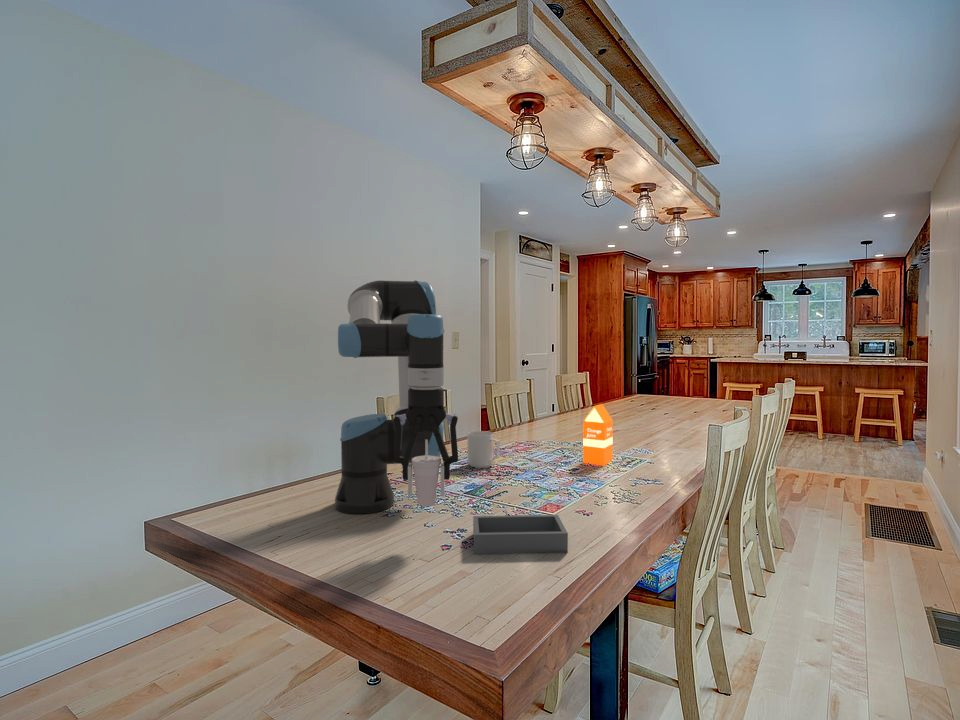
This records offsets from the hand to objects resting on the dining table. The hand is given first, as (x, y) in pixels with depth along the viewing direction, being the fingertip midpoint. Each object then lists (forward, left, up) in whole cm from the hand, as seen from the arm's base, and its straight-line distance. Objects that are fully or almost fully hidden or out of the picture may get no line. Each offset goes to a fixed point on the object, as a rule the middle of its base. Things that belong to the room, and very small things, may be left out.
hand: (426, 494), depth 113 cm
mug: (-64, +15, -11) cm, 67 cm away
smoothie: (0, 0, -2) cm, 2 cm away
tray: (+2, +20, -10) cm, 22 cm away
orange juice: (-69, +55, -11) cm, 89 cm away
